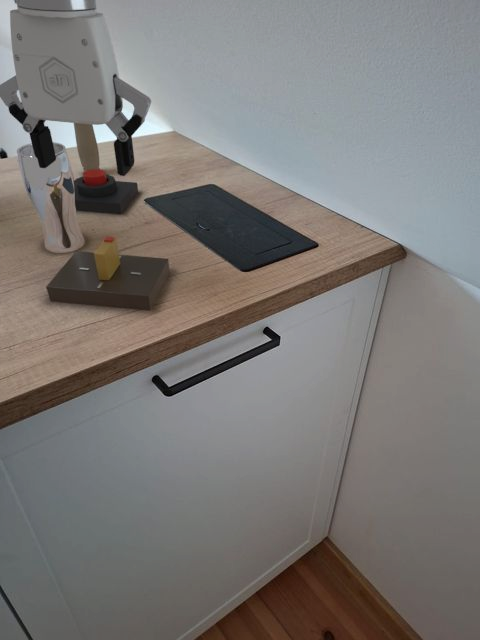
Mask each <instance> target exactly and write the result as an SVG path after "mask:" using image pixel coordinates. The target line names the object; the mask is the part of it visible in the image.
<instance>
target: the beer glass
mask: <svg viewBox="0 0 480 640" xmlns="http://www.w3.org/2000/svg"><path fill="white" fill-rule="evenodd" d="M53 146H54V150H55V155H56V160H55V161H54V162H53V163H52V164H50V165H49V166H48V167H46V168H40V167H39V163H38V159H37V158H36V157H35V154H34V150H33V146H32V142H30V143H28V144H27V143H26V144H23V145H21V146H20V147H18V148H17V149H16V155H17V159H18V165H19V169H20V173H21V174H20V175H21V178H22V181H23V185H24V188H25V191H26V194H27V195H28V198H29V200H30V203H31V205H32V207H33V209H34V211H35V213H36V215H37V217H38V219H39V221H40V224H41V227H42V231H43V243H44V247H45V250H47V251H48V252H51V253H55V254H64V253H71V252H76V251H78V250H79V249H81V248H82V247H83V246H84V245H85V243H86V241H85V238H84V235H83V233H82V231H81V228H80V226H79V222H78V217H77V216H78V215H77V211H76V191H75V182H74V181H75V177H74V173H73V169H72V165H71V162H70V159H69V155H68V152H67V148H66V145H64V144H62V143H59V142H54V141H53Z"/></svg>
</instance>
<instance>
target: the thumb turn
mask: <svg viewBox="0 0 480 640" xmlns="http://www.w3.org/2000/svg"><path fill="white" fill-rule="evenodd" d="M94 252H95V253H94V257H95V262H96V267H97V271H98V276H99V280H110V278H111V277H112V275H113V274H114V272H115V271H116V269H117V268H118V266H119V265H120V259H119V255H120V254H119V249H118V243H117V237H116V238H115V237H114V236H105V237H104V239H103V241H102V242H101V243H100V245H99V246H98V247H97V249H96V250H95V251H94Z"/></svg>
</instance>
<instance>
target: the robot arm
mask: <svg viewBox="0 0 480 640" xmlns="http://www.w3.org/2000/svg"><path fill="white" fill-rule="evenodd" d="M13 1H14V4H16V7H17V8H16V9H11V10H9V24H10V25H9V26H10V40H11V41H10V43H11V50H12V57H13V58H12V59H13V65H14V71H15V75H14V76H12V77H11V78H9V79H7V80H6V81H3V82H2V83H1V84H0V99H1V100H2V102H3V103H4V105H5V106H6V107H7V108H8V112H9V114H10V115H11V116H12V117H13V118H14V119H15V120H16V121H17V122H18V123H20V125H22V130H23V131H24V132H26V133H27V134H29V138H30V143H32V146H33V150H34V154H35V157H36V158H37V159H38V163H39V167H40V168H46V167H48V166H49V165H50V164H52V163H53V162H54V161H55V160H56V155H55V150H54V146H53V142H54V141H53V138H52V132H51V129H50V128H49V126H48V125H45V124H46V123H45V122H46V121H50V122H61V123H68V124H69V123H71V124H74V123H81V124H92V125H96V126H97V125H98V126H100V125H106V126H107V127H108V129H109V130H110V132H111V133H112V134H113V135H114V136H115V137H116V139H115V140H114V141H113V151H114V157H115V163H116V171H117V175H119V176H120V177H125V176H126V175H127V174H128V173H129V172H130V171H131V170H132V168H133V167H134V165H135V152H134V145H133V135H134V134H135V133H136V132H137V131H138V129H140V128H141V126H142V125H143V124H144V123H145V120H146V117H147V115H148V113H149V111H150V107H151V105H152V99H151V98H150V97H149V96H148V95H147V94H146V93H143V92H142V91H140V90H139V89H137V88H135V87H133V86H132V85H131V84H129V83H128V82H126V81H124V80H123V79H121V78H120V73H119V70H118V69H119V68H118V64H117V59H116V55H115V50H114V46H113V43H112V38H111V35H110V32H109V28H108V25H107V22H106V19H105V16H104V14H103V12H98V9H97V1H96V0H13ZM18 92H19V96H18ZM123 100H125V101H126V102H128V103H129V104H131V105H132V106H133V108H134V109H133V111H132V112H133V113H132V115H131V117H130V118H129V119H128V118H127V116H126V115H125V114H124V112H122V111H123V108H124V107H123V106H124V104H123V103H124V101H123Z"/></svg>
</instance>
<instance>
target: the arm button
mask: <svg viewBox="0 0 480 640" xmlns="http://www.w3.org/2000/svg"><path fill="white" fill-rule="evenodd" d="M106 174H107V173H106V171H105V170H103V169H100V170H99V169H93V170H88V171H85V172H84V171H83V173H82V177H83V178H84V183H85V184H86V185H94V186H95V185H102V184H105V183H107V178H106Z"/></svg>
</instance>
